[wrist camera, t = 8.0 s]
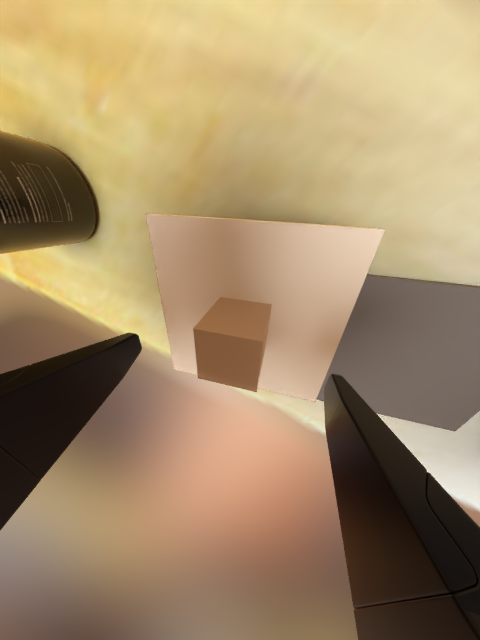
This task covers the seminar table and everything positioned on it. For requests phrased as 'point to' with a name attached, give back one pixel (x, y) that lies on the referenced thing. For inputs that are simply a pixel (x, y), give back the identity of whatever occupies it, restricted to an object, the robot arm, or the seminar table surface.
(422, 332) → the mat
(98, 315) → the seminar table surface
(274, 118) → the seminar table surface
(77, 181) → the supplement bottle
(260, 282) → the lid
